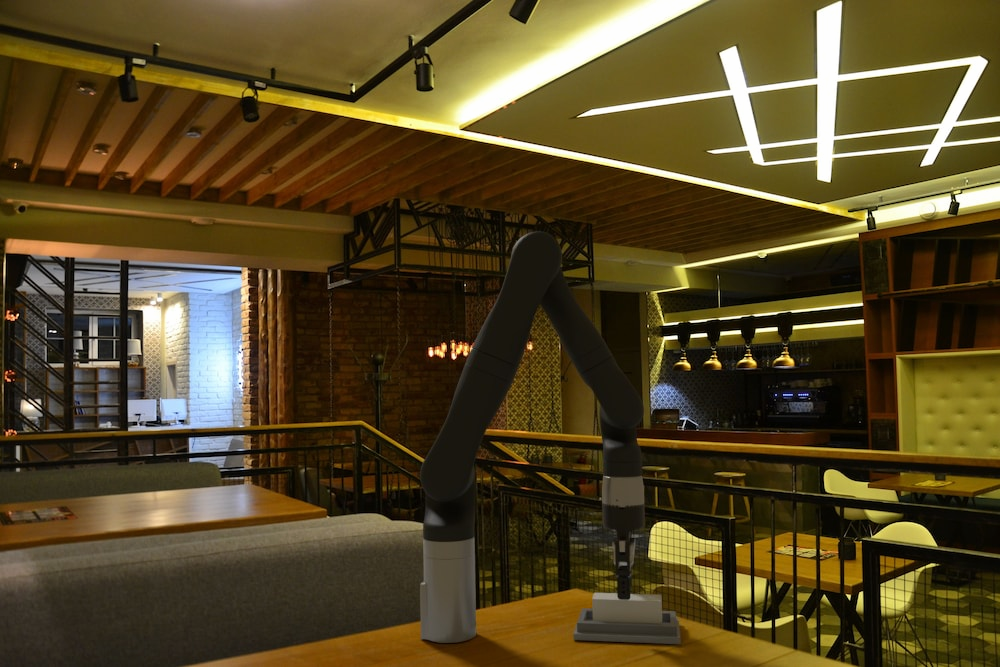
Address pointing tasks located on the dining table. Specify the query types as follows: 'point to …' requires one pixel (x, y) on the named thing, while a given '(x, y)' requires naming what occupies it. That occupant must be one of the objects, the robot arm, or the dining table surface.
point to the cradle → (628, 629)
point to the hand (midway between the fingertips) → (624, 592)
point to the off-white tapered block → (627, 608)
